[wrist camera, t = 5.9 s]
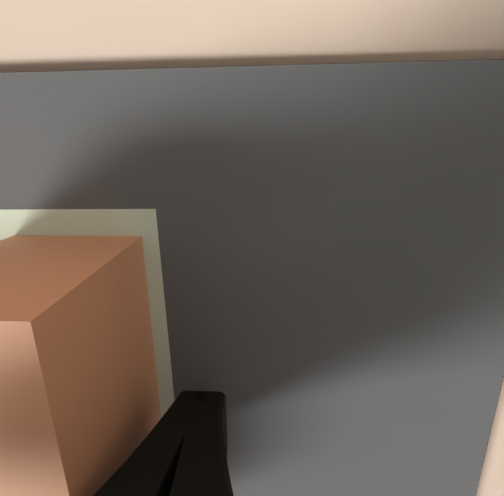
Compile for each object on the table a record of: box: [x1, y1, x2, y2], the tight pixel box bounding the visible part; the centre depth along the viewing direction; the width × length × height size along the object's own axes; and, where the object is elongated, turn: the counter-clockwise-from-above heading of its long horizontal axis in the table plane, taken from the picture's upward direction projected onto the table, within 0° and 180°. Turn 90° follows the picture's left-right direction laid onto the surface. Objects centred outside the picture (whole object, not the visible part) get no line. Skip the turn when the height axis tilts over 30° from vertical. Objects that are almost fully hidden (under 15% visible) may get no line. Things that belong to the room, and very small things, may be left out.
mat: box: [0, 59, 504, 496], centre depth 11 cm, size 18×24×1 cm
